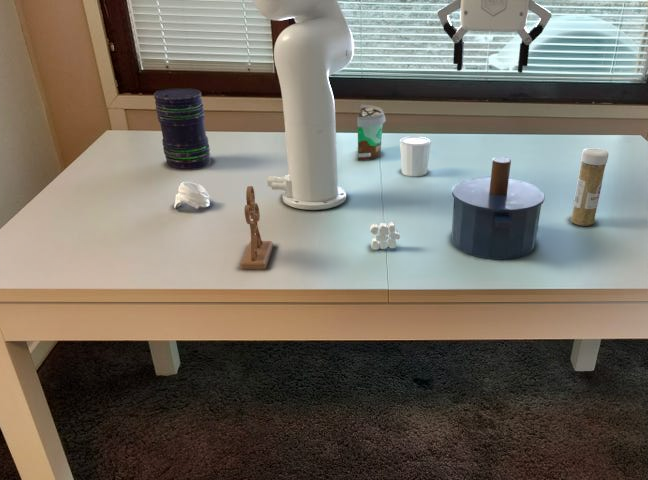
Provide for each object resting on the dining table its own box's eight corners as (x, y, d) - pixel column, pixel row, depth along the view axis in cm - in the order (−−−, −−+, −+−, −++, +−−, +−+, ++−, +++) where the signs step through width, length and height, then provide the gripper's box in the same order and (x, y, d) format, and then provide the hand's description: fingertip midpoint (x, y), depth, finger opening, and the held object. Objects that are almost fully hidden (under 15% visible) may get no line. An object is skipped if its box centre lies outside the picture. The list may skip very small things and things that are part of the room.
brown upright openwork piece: (250, 245, 111) (242, 177, 104) (273, 246, 111) (266, 177, 104) (240, 269, 103) (231, 197, 97) (265, 269, 103) (257, 197, 97)
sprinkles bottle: (593, 228, 120) (608, 156, 113) (568, 224, 121) (581, 153, 114) (595, 219, 124) (609, 148, 116) (571, 216, 125) (583, 145, 117)
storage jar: (192, 153, 151) (181, 85, 143) (220, 162, 147) (211, 92, 138) (156, 164, 145) (143, 93, 136) (185, 173, 140) (173, 101, 132)
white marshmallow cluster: (370, 249, 110) (370, 225, 108) (370, 246, 112) (370, 222, 109) (399, 249, 111) (400, 225, 108) (399, 246, 112) (399, 221, 109)
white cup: (426, 178, 141) (428, 146, 137) (396, 175, 142) (396, 143, 138) (431, 168, 146) (433, 137, 142) (402, 166, 147) (402, 134, 143)
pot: (454, 265, 106) (458, 216, 101) (449, 218, 123) (452, 174, 118) (543, 268, 106) (551, 219, 101) (525, 220, 123) (532, 176, 118)
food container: (384, 163, 149) (384, 118, 143) (357, 162, 149) (357, 117, 143) (386, 147, 159) (386, 104, 153) (361, 146, 159) (360, 103, 153)
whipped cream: (179, 202, 128) (172, 178, 126) (213, 198, 129) (207, 174, 126) (173, 215, 122) (166, 190, 119) (209, 210, 122) (203, 185, 120)
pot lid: (454, 214, 103) (457, 174, 100) (449, 181, 116) (452, 144, 113) (551, 217, 103) (557, 177, 100) (536, 184, 116) (541, 147, 112)
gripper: (437, -57, 92) (433, 73, 101) (561, -56, 90) (545, 76, 99) (442, -58, 98) (438, 64, 108) (558, -57, 96) (543, 67, 105)
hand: (489, 70), depth 103 cm, fingers open, 9 cm apart
